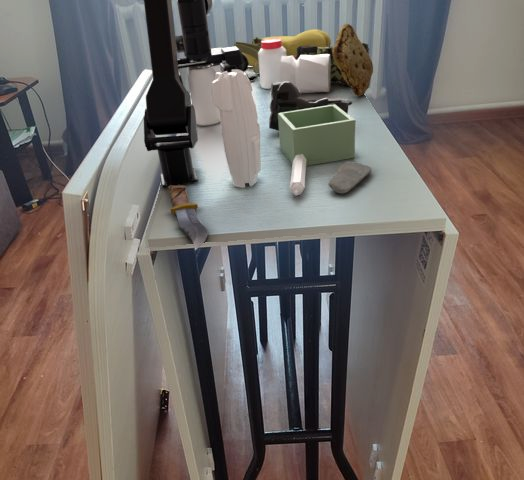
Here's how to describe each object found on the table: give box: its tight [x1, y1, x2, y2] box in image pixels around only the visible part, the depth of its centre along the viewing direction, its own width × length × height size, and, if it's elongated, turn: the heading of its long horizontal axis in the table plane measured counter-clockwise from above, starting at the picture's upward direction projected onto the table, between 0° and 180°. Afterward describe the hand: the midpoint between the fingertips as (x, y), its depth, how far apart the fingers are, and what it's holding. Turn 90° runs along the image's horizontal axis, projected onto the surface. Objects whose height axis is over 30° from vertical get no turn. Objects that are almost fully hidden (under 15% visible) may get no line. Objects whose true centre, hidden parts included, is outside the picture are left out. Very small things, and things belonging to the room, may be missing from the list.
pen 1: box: [248, 75, 259, 82], centre depth 153 cm, size 14×2×1 cm, turn 127°
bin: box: [278, 104, 356, 167], centre depth 102 cm, size 12×12×7 cm
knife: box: [167, 185, 209, 252], centre depth 85 cm, size 25×1×5 cm
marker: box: [289, 154, 307, 197], centre depth 92 cm, size 3×2×16 cm
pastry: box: [332, 22, 374, 97], centre depth 130 cm, size 17×17×3 cm
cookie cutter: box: [233, 36, 263, 75], centre depth 155 cm, size 18×12×2 cm, turn 29°
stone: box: [328, 160, 372, 194], centre depth 91 cm, size 12×2×5 cm
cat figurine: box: [268, 81, 353, 132], centre depth 118 cm, size 10×14×18 cm
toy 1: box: [235, 54, 249, 73], centre depth 157 cm, size 7×7×15 cm
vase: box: [280, 54, 331, 94], centre depth 137 cm, size 9×9×12 cm
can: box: [187, 64, 221, 127], centre depth 123 cm, size 6×6×12 cm
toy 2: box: [242, 28, 332, 68], centre depth 165 cm, size 14×9×30 cm
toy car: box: [297, 42, 370, 87], centre depth 142 cm, size 9×19×10 cm
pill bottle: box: [258, 38, 287, 90], centre depth 145 cm, size 8×8×11 cm
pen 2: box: [306, 97, 349, 104], centre depth 131 cm, size 1×19×1 cm
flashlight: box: [212, 69, 262, 188], centre depth 89 cm, size 7×18×7 cm
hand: (205, 102), depth 124 cm, fingers open, 8 cm apart
